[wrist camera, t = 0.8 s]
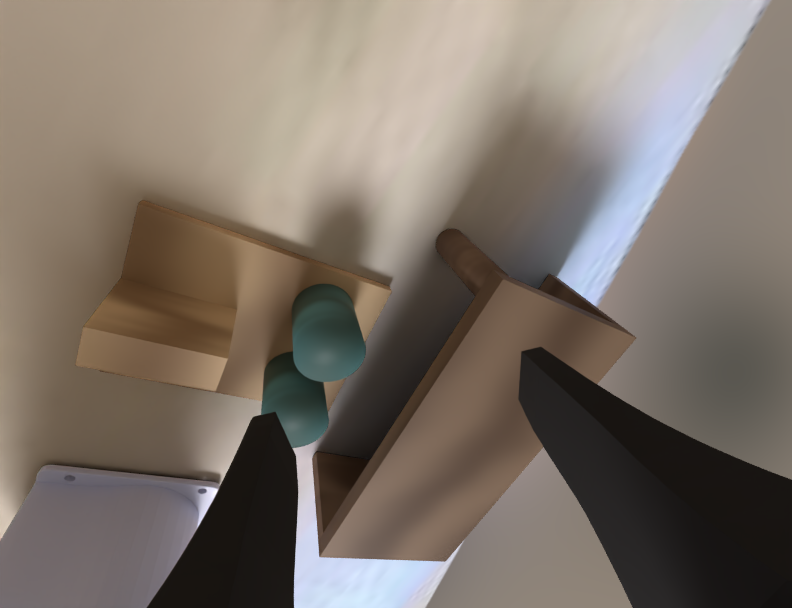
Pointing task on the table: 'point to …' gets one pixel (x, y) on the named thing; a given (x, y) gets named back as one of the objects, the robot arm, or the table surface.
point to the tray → (233, 319)
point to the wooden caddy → (460, 419)
